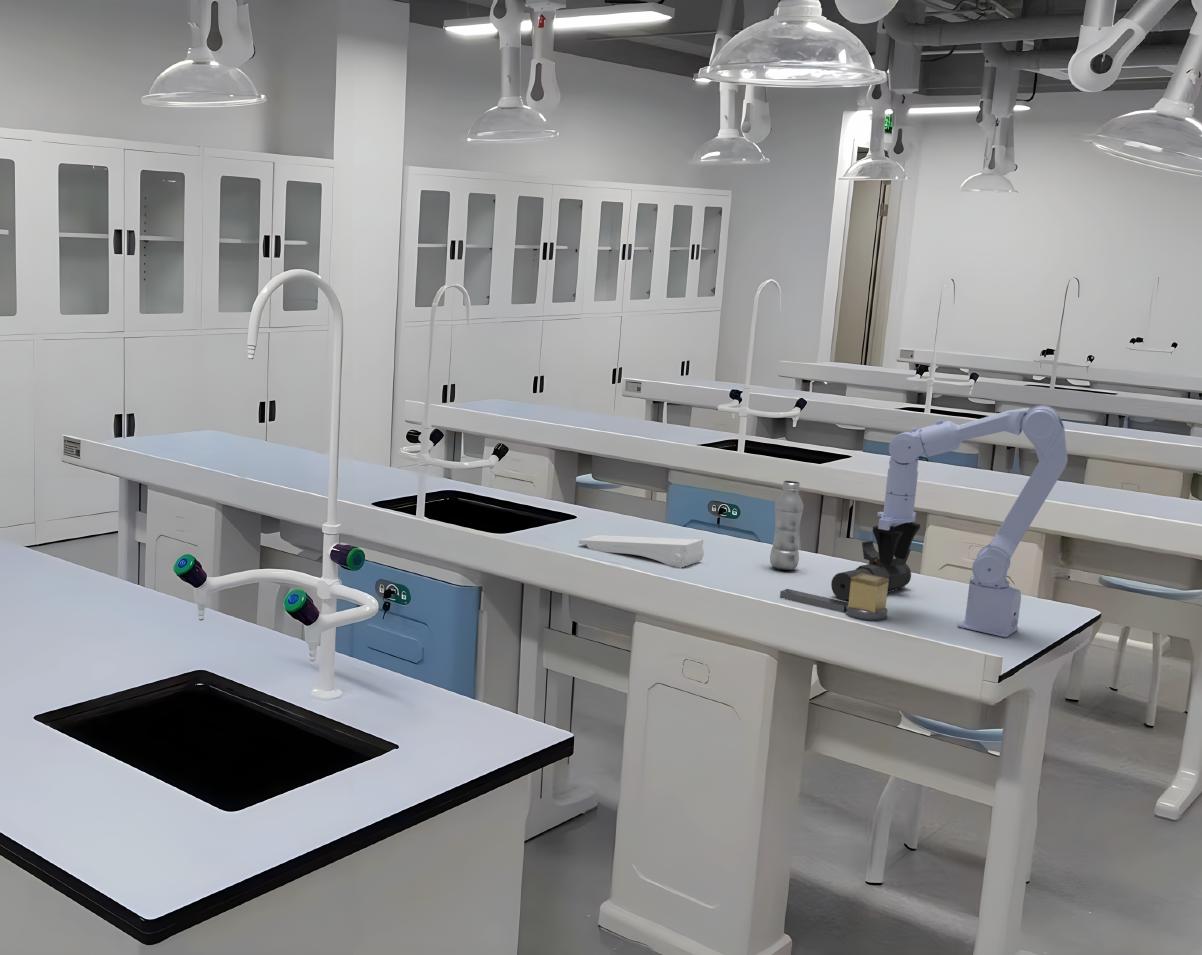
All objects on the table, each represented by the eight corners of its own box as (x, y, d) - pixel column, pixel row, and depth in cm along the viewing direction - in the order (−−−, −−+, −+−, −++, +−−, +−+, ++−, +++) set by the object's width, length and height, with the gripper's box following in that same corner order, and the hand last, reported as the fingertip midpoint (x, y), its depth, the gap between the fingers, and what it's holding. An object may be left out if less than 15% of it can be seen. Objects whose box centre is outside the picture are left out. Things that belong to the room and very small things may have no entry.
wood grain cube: (885, 608, 229) (888, 578, 228) (874, 613, 225) (878, 583, 224) (859, 602, 232) (862, 573, 231) (848, 607, 228) (851, 577, 227)
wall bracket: (580, 571, 272) (687, 578, 257) (575, 542, 270) (682, 548, 255) (602, 554, 280) (707, 560, 265) (597, 526, 278) (702, 530, 263)
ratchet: (893, 616, 230) (895, 593, 229) (877, 623, 223) (879, 600, 223) (791, 593, 242) (794, 571, 242) (774, 600, 236) (776, 577, 235)
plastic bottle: (776, 573, 259) (784, 484, 256) (763, 565, 265) (772, 479, 262) (802, 573, 261) (811, 485, 258) (790, 565, 267) (798, 479, 264)
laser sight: (821, 595, 243) (826, 548, 242) (881, 581, 259) (885, 537, 257) (861, 606, 236) (866, 558, 235) (920, 592, 252) (925, 546, 250)
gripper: (894, 486, 237) (887, 551, 239) (866, 494, 225) (859, 562, 227) (928, 492, 233) (920, 558, 235) (901, 499, 221) (893, 569, 223)
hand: (892, 561), depth 231 cm, fingers open, 7 cm apart
